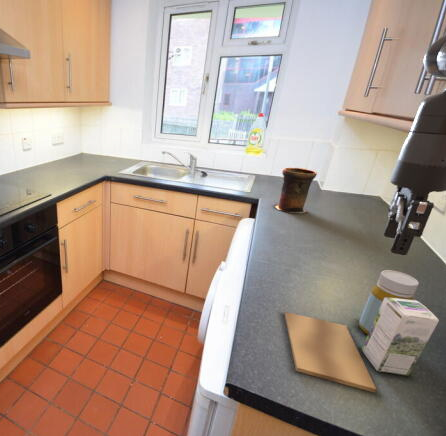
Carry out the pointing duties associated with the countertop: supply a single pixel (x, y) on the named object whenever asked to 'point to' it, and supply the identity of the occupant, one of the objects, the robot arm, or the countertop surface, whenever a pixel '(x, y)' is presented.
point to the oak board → (326, 351)
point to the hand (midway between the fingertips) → (393, 244)
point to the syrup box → (398, 335)
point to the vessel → (295, 189)
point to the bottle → (387, 294)
